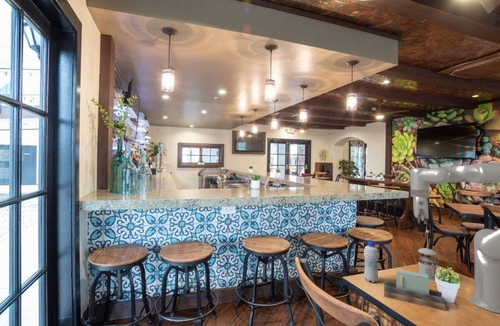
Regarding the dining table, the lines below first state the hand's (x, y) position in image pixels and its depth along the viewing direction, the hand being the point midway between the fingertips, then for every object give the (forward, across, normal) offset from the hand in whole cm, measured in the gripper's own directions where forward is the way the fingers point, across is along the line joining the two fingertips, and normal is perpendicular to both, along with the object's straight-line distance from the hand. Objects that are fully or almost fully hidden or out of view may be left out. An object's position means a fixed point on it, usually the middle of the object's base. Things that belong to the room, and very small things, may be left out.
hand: (420, 229), depth 120 cm
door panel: (+26, -11, +4) cm, 29 cm away
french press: (+28, +15, -5) cm, 32 cm away
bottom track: (+28, -11, +4) cm, 30 cm away
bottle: (+28, -3, +21) cm, 35 cm away
